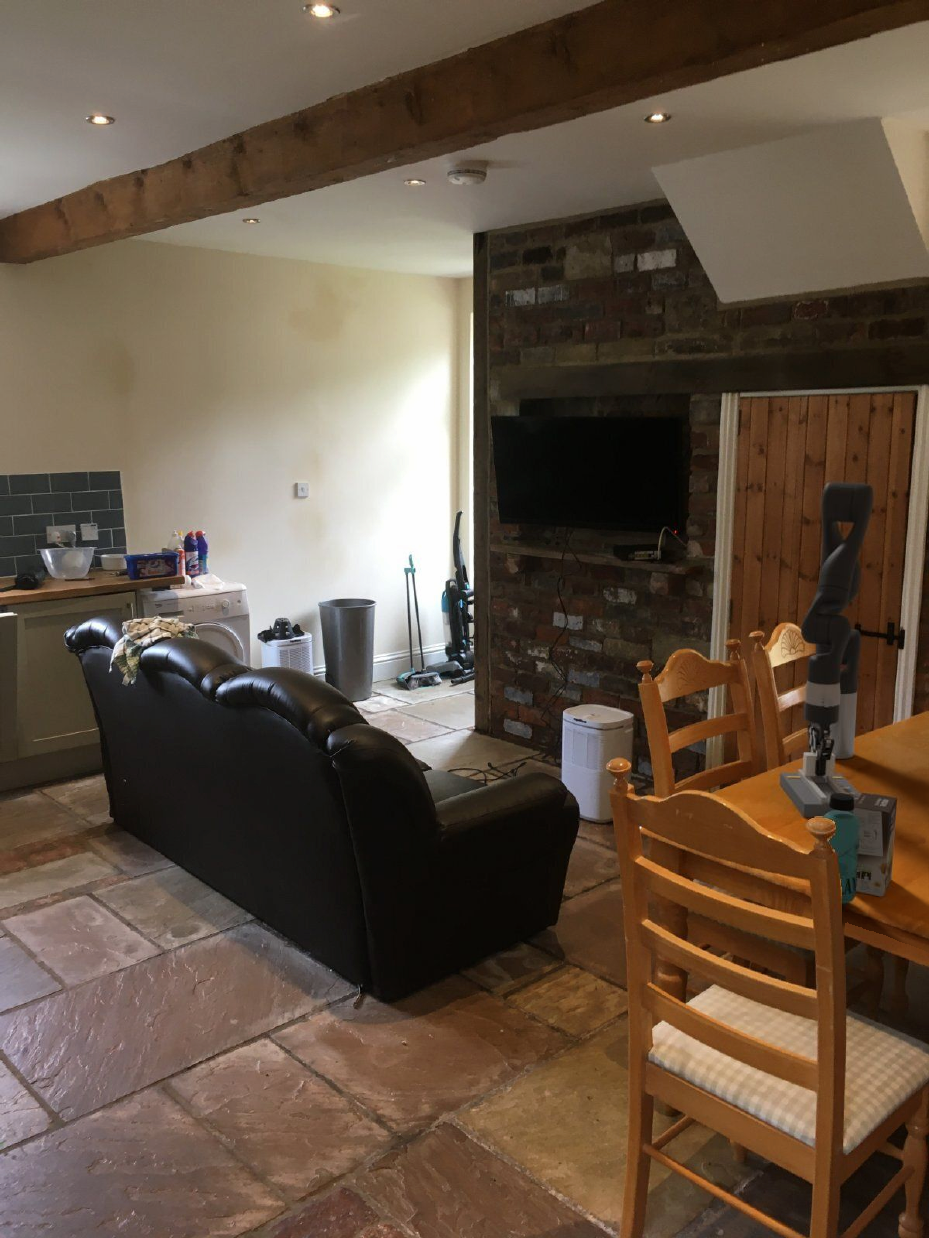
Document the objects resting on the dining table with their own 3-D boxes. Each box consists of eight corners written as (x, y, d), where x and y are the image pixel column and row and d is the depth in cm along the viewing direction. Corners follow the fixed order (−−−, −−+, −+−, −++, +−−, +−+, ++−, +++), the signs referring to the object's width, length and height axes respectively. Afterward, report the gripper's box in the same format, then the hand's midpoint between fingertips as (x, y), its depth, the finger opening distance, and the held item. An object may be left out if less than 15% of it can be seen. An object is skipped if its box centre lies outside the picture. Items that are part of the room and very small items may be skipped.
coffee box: (884, 898, 178) (890, 812, 175) (846, 890, 182) (851, 806, 179) (892, 878, 186) (897, 796, 183) (855, 871, 189) (861, 791, 186)
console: (779, 784, 238) (780, 767, 237) (839, 785, 237) (840, 768, 236) (803, 817, 217) (804, 798, 216) (869, 818, 216) (870, 799, 215)
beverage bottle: (820, 910, 174) (826, 801, 170) (812, 893, 180) (818, 788, 177) (859, 912, 173) (866, 802, 169) (850, 895, 179) (857, 789, 176)
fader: (801, 778, 232) (803, 751, 231) (829, 779, 232) (831, 752, 231) (805, 783, 229) (806, 755, 228) (833, 783, 229) (835, 756, 228)
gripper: (797, 692, 234) (793, 763, 237) (814, 708, 221) (810, 783, 224) (829, 693, 234) (825, 763, 237) (848, 708, 220) (844, 783, 223)
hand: (818, 772), depth 230 cm, fingers closed on fader, 2 cm apart
